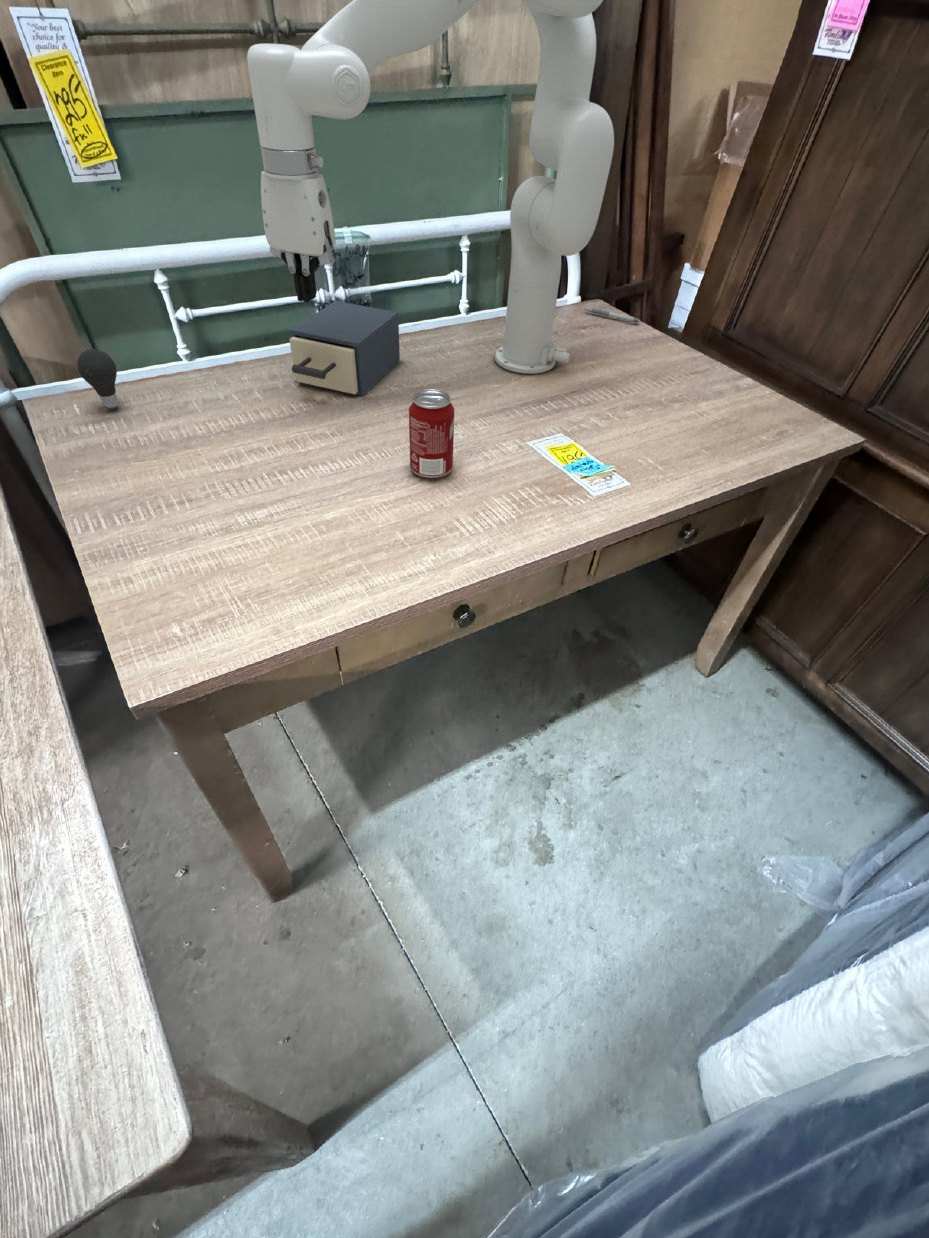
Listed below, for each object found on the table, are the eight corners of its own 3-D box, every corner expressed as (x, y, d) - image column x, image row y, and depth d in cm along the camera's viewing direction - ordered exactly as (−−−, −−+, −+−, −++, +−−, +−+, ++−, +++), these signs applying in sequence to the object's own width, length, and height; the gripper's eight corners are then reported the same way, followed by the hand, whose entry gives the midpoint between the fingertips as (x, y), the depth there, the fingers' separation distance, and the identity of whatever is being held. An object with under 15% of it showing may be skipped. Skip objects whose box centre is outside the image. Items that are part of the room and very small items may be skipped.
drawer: (341, 406, 109) (336, 363, 103) (280, 392, 111) (272, 349, 106) (391, 362, 123) (389, 321, 117) (336, 350, 125) (331, 310, 120)
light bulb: (94, 403, 108) (71, 345, 100) (129, 398, 109) (108, 341, 102) (95, 418, 104) (70, 359, 97) (131, 413, 106) (109, 355, 99)
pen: (638, 325, 145) (640, 319, 144) (582, 313, 149) (583, 307, 148) (639, 324, 145) (641, 318, 144) (584, 312, 149) (585, 305, 148)
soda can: (447, 484, 95) (449, 411, 86) (405, 477, 96) (403, 405, 87) (456, 461, 100) (459, 390, 91) (416, 455, 100) (415, 384, 92)
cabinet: (362, 396, 114) (358, 343, 107) (298, 381, 117) (290, 329, 110) (399, 362, 125) (398, 312, 118) (340, 349, 128) (335, 300, 121)
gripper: (348, 164, 89) (358, 300, 102) (259, 152, 92) (280, 285, 105) (322, 173, 84) (336, 314, 97) (229, 160, 87) (254, 298, 100)
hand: (307, 299), depth 101 cm, fingers closed
